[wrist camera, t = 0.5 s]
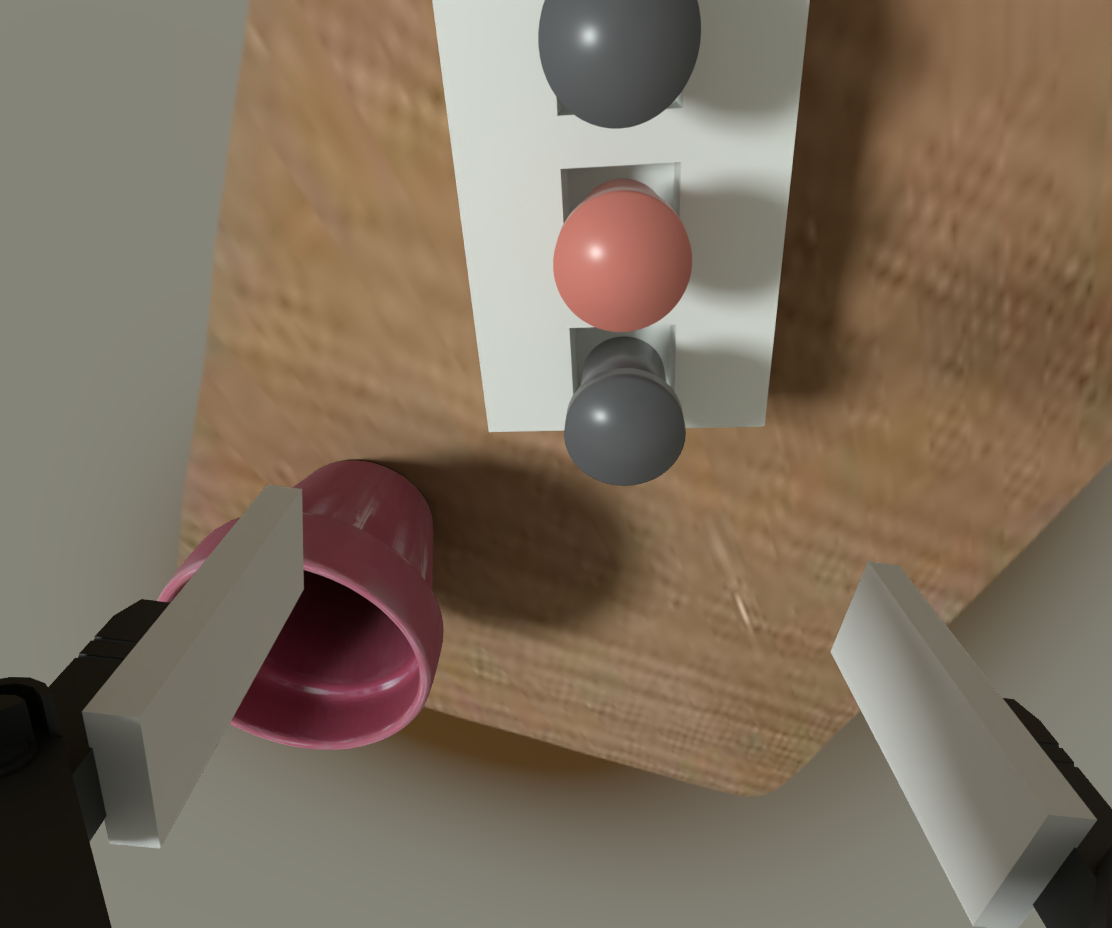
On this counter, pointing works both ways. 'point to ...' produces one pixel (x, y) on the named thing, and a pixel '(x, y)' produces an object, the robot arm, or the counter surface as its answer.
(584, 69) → the knob
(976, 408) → the counter surface
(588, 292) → the pink round knob
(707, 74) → the mount
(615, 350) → the knob
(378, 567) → the plant pot
